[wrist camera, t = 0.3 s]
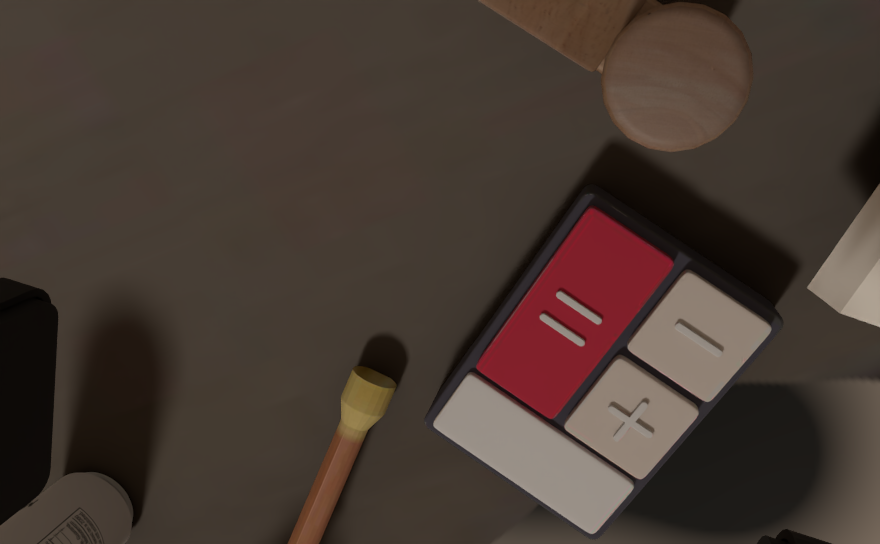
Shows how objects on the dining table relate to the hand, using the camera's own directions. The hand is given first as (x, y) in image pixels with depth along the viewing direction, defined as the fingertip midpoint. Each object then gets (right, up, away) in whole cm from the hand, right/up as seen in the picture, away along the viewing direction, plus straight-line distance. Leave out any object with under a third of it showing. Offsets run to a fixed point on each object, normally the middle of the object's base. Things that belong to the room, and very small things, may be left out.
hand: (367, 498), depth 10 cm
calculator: (+9, -1, +31) cm, 32 cm away
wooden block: (+8, +15, +26) cm, 31 cm away
